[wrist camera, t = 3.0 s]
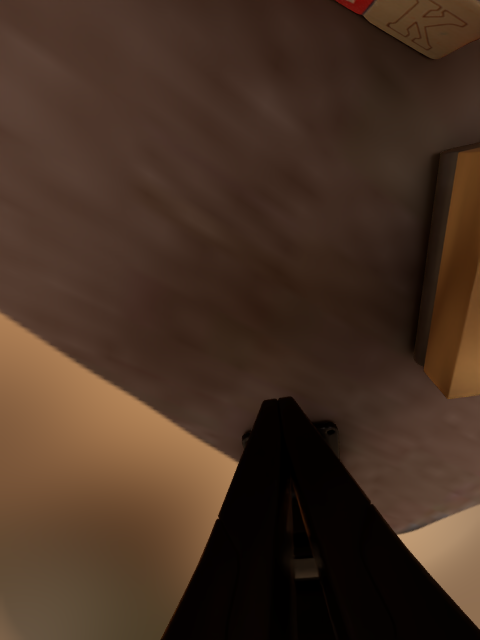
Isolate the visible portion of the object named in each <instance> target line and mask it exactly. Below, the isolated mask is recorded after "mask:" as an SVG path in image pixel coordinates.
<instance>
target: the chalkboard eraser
mask: <svg viewBox="0 0 480 640" xmlns="http://www.w3.org/2000/svg"><path fill="white" fill-rule="evenodd" d="M414 360H415V361H416V363H418V364H419V365H421V366H423V367H424V372H425V373H426V374H427V376H428V377H429V378H430V379H431V380H432V382H433V383H434V384H435V385H436V386H437V387H438V389H439V390H440V391H441V392H442V393H443V394H444V396H445V397H446V398H447V399H453V398H460V397H468V396H475V395H480V142H479V143H475V144H470V145H466V146H462V147H457V148H453V149H449V150H445V151H443V152H441V154H440V160H439V167H438V175H437V182H436V190H435V198H434V205H433V213H432V220H431V228H430V235H429V243H428V251H427V258H426V266H425V273H424V281H423V288H422V296H421V304H420V311H419V319H418V326H417V334H416V341H415V349H414Z"/></svg>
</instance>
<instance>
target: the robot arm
mask: <svg viewBox="0 0 480 640" xmlns="http://www.w3.org/2000/svg"><path fill="white" fill-rule="evenodd" d="M242 444H243V447H244V451H243V454H242V456H241V459H240V461H239V464H238V466H237V469H236V471H235V474H234V476H233V479H232V482H231V484H230V487H229V489H228V492H227V494H226V497H225V500H224V502H223V504H222V507H221V510H220V512H219V515H218V517H219V519H220V520H219V519H217V520H216V522H215V524H214V527H213V529H212V532H211V535H210V537H209V539H208V542H207V544H206V547H205V549H204V551H203V554H202V556H201V558H200V561H199V563H198V565H197V567H196V570H195V572H194V574H193V576H192V578H191V580H190V582H189V584H188V586H187V588H186V590H185V592H184V595H183V596H182V598H181V600H180V602H179V604H178V606H177V608H176V610H175V612H174V614H173V616H172V618H171V620H170V622H169V624H168V626H167V628H166V630H165V632H164V634H163V636H162V638H161V640H480V629H478V627H477V626H476V625H475V624H474V623H473V622H472V621H471V620H470V618H469V617H468V616H467V615H466V614H465V613H464V612H463V611H462V610H461V609H460V607H459V606H458V605H457V604H456V603H455V602H454V601H453V600H452V599H451V597H450V596H449V595H448V594H447V593H446V592H445V591H444V590H443V588H441V586H440V585H439V584H438V583H437V582H436V581H435V580H434V579H433V577H432V576H431V575H430V574H429V573H428V572H427V570H426V569H425V568H424V567H423V566H422V565H421V563H420V562H419V561H418V560H417V559H416V558H415V557H414V555H413V554H412V553H411V552H410V551H409V550H408V549H407V547H406V546H405V545H404V544H403V542H402V541H401V540H400V538H399V537H398V536H397V535H396V533H395V532H394V531H393V530H392V528H391V527H390V526H389V524H388V523H387V522H386V521H385V519H384V518H383V517H382V515H381V514H380V513H379V511H378V510H377V509H376V507H375V506H374V505H373V504H371V501H370V500H369V498H368V497H367V496H366V494H365V493H364V492H363V490H362V489H361V488H360V486H359V485H358V484H357V482H356V481H355V480H354V478H353V477H352V476H351V474H350V473H349V472H348V470H347V469H346V468H345V466H344V465H343V464H342V462H341V461H340V457H339V437H338V429H337V426H336V424H334V423H332V422H328V423H321V424H312V423H311V421H310V420H309V419H308V417H307V416H306V415H305V413H304V412H303V411H302V409H301V408H300V407H299V405H298V404H297V403H296V401H295V400H294V399H293V398H292V397H283V398H279V399H278V400H277V399H268V400H264V401H263V403H262V405H261V408H260V410H259V413H258V415H257V418H256V421H255V423H254V426H253V428H252V431H251V433H246V434H244V435H243V436H242Z"/></svg>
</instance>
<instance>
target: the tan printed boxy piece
mask: <svg viewBox="0 0 480 640" xmlns="http://www.w3.org/2000/svg"><path fill="white" fill-rule="evenodd" d="M335 1H337V2H338V3H340V4H342V5H343V6H345V7H346V8H348V9H350V10H351V11H353V12H355V13H357V14H361V15H363V16H364V17H365V18H366V19H367V20H368V21H369V22H370V23H372V24H373V25H375V26H377V27H378V28H380V29H381V30H383V31H385V32H386V33H388V34H390V35H391V36H393V37H395V38H397V39H398V40H400V41H402V42H403V43H405V44H407V45H408V46H410V47H412V48H413V49H415V50H417V51H418V52H420V53H422V54H424V55H425V56H427V57H429V58H432V59H440V58H442V57H444V56H446V55H448V54H450V53H451V52H453V51H455V50H457V49H459V48H461V47H463V46H464V45H466V44H468V43H470V42H472V41H476V40H477V39H479V38H480V0H335Z"/></svg>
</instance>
